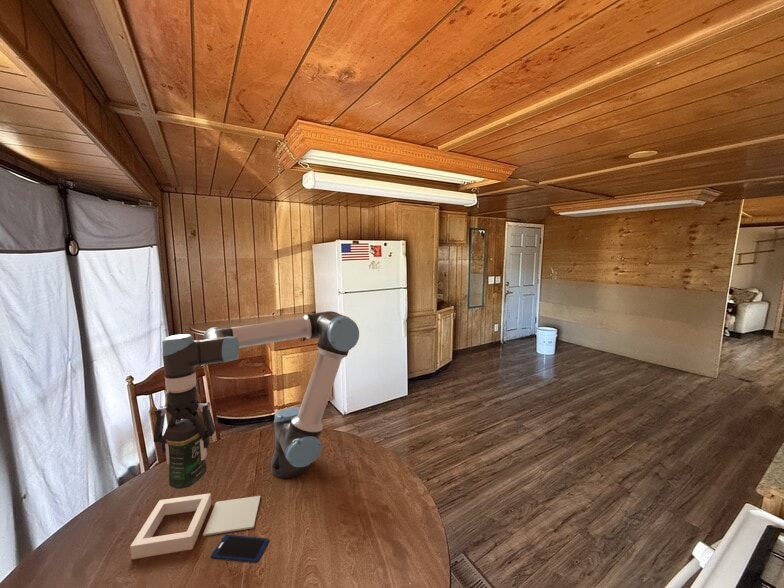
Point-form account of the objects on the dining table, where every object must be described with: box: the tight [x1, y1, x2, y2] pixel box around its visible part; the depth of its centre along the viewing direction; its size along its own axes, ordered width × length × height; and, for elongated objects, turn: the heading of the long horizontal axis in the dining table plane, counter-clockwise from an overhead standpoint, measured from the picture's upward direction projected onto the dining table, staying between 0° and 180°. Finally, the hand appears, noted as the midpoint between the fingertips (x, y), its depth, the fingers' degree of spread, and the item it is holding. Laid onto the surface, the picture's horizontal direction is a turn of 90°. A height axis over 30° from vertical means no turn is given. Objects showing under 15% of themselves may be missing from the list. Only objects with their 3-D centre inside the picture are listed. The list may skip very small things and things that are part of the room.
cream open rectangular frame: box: [129, 492, 212, 560], centre depth 98 cm, size 15×17×4 cm
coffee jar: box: [165, 416, 208, 490], centre depth 96 cm, size 10×8×19 cm
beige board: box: [202, 495, 262, 537], centre depth 103 cm, size 14×13×1 cm
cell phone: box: [210, 534, 270, 563], centre depth 92 cm, size 7×14×1 cm, turn 85°
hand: (187, 459), depth 97 cm, fingers closed on coffee jar, 8 cm apart
